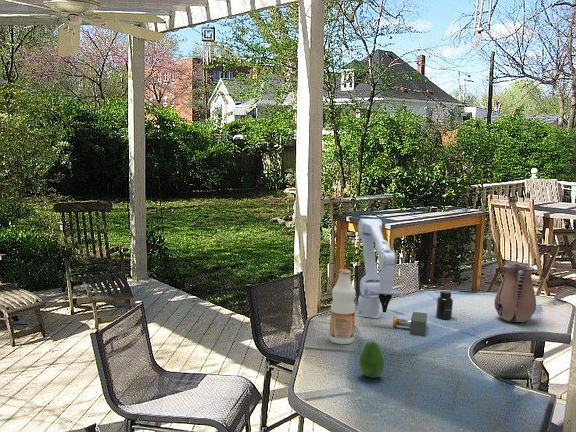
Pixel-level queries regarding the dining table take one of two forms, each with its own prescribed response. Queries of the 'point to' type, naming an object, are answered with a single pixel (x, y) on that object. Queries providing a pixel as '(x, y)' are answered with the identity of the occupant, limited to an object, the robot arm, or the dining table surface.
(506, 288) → the ceramic pitcher
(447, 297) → the supplement bottle
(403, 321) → the lynch pin
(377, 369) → the avocado
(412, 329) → the hitch beam
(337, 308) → the fruit juice
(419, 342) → the dining table surface
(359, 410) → the dining table surface
